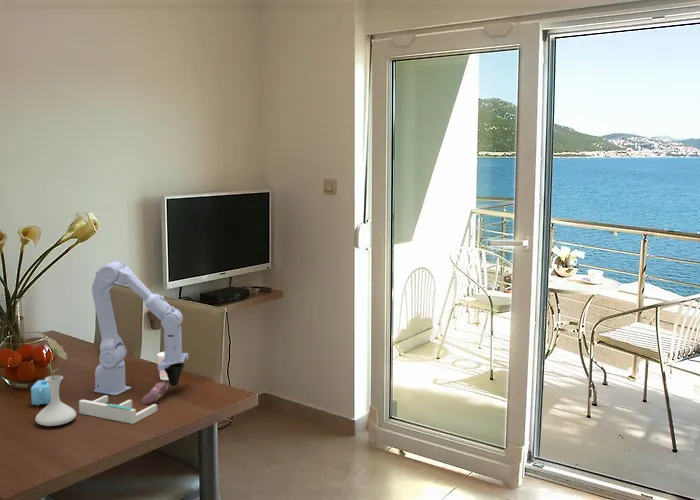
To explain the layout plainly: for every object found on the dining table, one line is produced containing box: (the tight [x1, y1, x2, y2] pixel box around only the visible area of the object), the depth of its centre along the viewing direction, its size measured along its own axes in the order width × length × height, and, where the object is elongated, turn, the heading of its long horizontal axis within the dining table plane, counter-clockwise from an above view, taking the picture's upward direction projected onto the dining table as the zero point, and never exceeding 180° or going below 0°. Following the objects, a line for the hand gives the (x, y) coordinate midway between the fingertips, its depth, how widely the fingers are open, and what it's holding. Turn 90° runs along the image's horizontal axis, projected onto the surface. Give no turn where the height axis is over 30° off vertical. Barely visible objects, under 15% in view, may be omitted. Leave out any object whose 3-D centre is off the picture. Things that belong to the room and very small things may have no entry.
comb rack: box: [78, 394, 158, 425], centre depth 216 cm, size 20×12×4 cm, turn 68°
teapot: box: [30, 379, 51, 407], centre depth 224 cm, size 12×6×8 cm, turn 8°
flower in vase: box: [35, 338, 77, 427], centre depth 207 cm, size 13×11×25 cm
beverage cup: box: [156, 351, 169, 381], centre depth 248 cm, size 6×6×14 cm
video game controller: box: [141, 380, 170, 405], centre depth 227 cm, size 10×5×7 cm, turn 169°
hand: (173, 384), depth 235 cm, fingers closed
